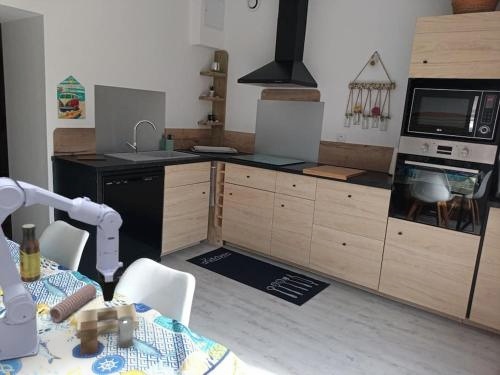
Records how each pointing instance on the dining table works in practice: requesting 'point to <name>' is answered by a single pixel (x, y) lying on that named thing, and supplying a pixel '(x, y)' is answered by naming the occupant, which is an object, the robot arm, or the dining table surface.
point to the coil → (72, 302)
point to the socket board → (107, 314)
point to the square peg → (89, 337)
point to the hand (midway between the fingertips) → (107, 294)
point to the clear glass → (125, 332)
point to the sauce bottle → (29, 254)
